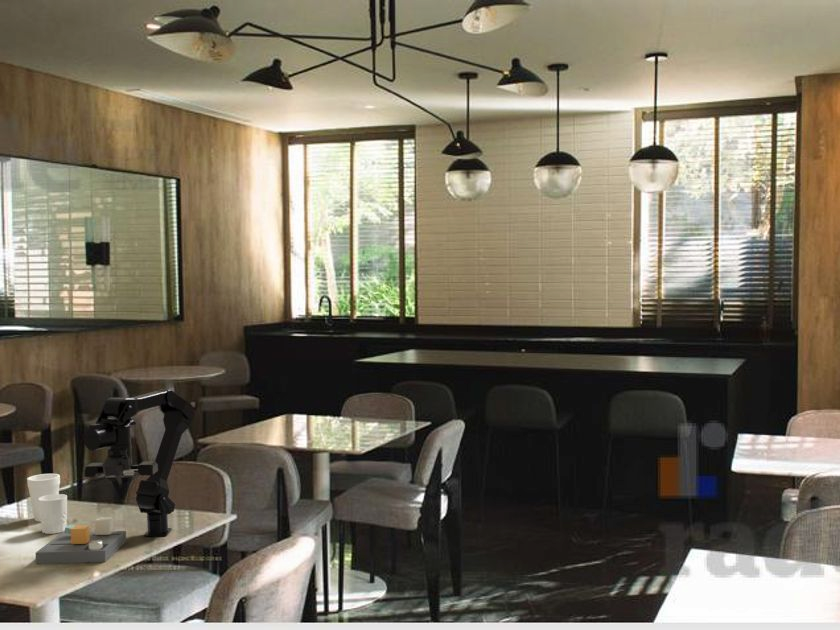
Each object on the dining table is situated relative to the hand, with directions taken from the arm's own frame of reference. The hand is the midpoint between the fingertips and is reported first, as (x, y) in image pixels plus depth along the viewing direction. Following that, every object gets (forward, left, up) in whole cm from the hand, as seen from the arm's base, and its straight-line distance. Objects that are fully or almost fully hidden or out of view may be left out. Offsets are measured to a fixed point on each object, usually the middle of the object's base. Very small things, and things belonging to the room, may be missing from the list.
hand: (122, 500), depth 252 cm
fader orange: (+6, -10, -10) cm, 15 cm away
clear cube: (+10, -5, -13) cm, 16 cm away
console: (+4, -10, -13) cm, 17 cm away
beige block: (-2, -6, -10) cm, 12 cm away
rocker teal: (-1, -13, -8) cm, 16 cm away
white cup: (-18, -26, -13) cm, 34 cm away
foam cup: (-32, -34, -13) cm, 49 cm away
